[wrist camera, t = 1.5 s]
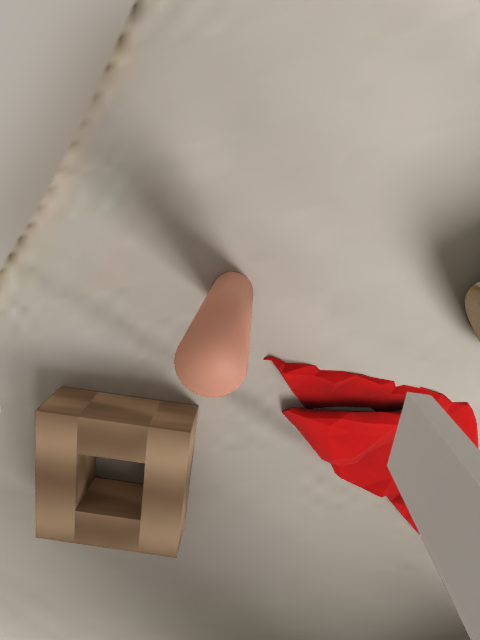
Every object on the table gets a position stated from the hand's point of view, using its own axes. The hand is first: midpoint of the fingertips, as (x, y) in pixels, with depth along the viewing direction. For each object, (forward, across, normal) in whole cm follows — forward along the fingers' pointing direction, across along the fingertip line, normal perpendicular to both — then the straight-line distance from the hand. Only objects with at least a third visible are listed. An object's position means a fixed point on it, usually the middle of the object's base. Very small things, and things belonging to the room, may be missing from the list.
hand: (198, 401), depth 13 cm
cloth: (+18, -15, +12) cm, 26 cm away
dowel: (+18, 0, 0) cm, 18 cm away
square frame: (+18, +7, +15) cm, 24 cm away
